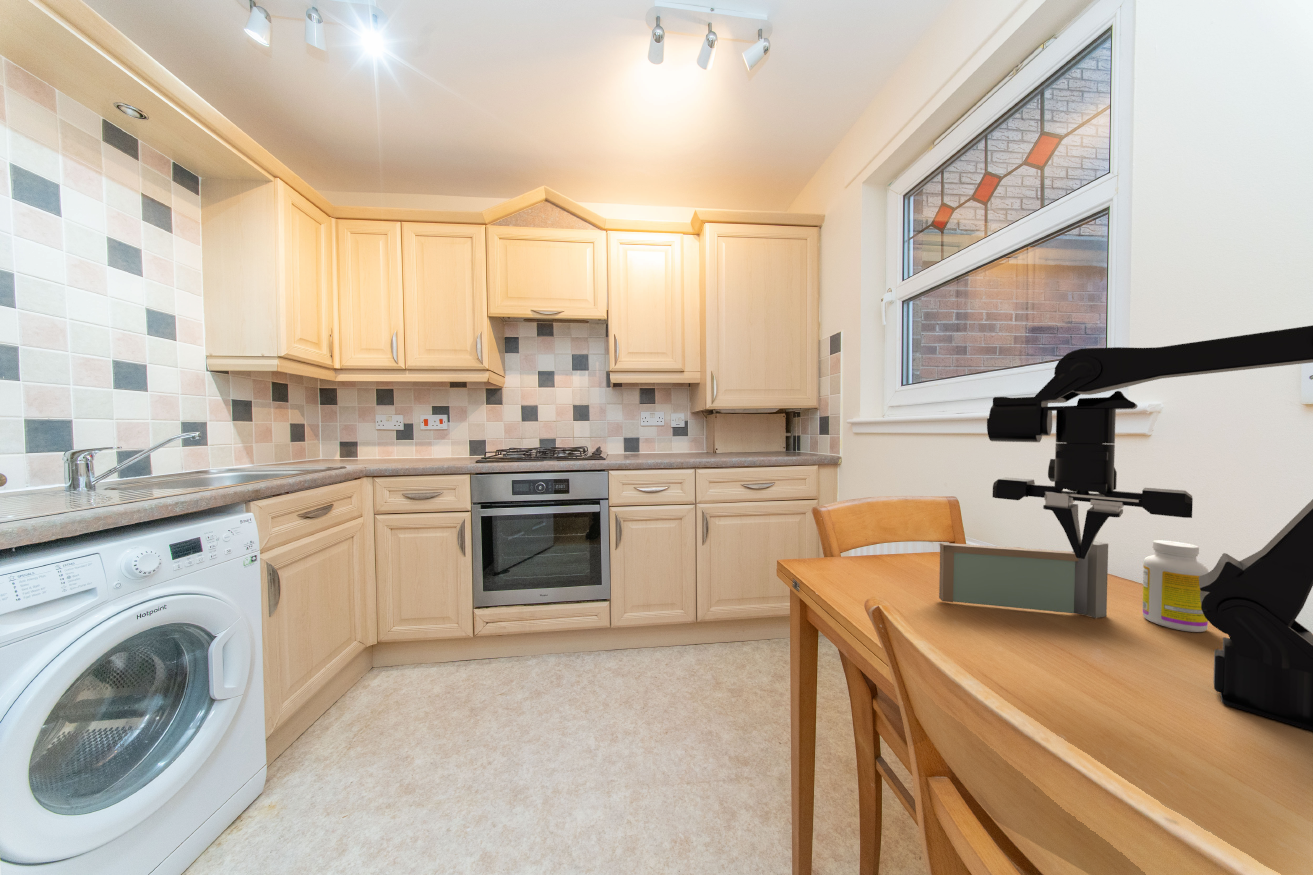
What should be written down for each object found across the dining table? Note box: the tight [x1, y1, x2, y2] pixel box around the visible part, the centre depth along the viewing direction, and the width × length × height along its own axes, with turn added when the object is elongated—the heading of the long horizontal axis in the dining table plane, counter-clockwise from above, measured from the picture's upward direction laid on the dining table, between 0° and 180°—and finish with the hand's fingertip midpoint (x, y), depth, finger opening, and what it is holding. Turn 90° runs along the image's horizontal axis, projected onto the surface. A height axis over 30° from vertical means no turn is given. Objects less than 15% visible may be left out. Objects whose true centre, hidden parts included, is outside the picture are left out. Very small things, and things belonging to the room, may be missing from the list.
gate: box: [938, 542, 1088, 616], centre depth 74 cm, size 21×2×10 cm, turn 75°
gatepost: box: [1081, 539, 1109, 619], centre depth 72 cm, size 3×3×12 cm
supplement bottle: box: [1142, 539, 1210, 633], centre depth 68 cm, size 7×7×13 cm
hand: (1080, 558), depth 59 cm, fingers closed
